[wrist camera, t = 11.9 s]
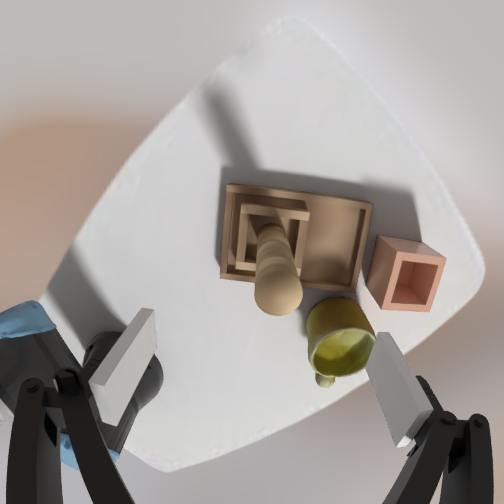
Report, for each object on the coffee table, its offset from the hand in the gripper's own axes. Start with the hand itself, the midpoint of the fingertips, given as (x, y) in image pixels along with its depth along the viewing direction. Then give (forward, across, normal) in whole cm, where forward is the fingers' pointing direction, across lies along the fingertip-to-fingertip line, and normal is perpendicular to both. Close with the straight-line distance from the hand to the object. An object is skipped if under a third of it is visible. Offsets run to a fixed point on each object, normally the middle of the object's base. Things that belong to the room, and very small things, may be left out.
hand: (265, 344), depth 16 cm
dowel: (+22, +1, 0) cm, 22 cm away
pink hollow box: (+23, +19, -2) cm, 30 cm away
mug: (+24, +11, -13) cm, 29 cm away
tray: (+23, +4, 0) cm, 24 cm away
